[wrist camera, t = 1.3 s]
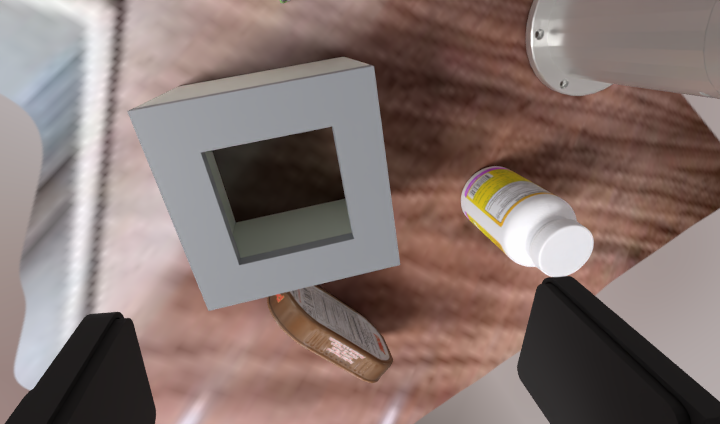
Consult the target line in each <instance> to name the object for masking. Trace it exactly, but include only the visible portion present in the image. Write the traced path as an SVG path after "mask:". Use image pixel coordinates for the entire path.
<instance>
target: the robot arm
mask: <svg viewBox="0 0 720 424" xmlns="http://www.w3.org/2000/svg"><path fill="white" fill-rule="evenodd" d="M535 33H536V36H535ZM526 48H527V55H528V58H529V62H530V65H531V67H532V69H533V71H534V73H535V75H536V76H537V77H538V78H539V80H540V81H541V82H542V83H543V84H544V85H546V86H547V87H548V88H550V89H551V90H553V91H556V92H559V93H561V94H567V95H571V96H584V95H589V94H594V93H596V92H599V91H601V90H604V89H606V88H607V87H609V86H611V85H612V84H618V85H625V86H632V87H639V88H646V89H653V90H660V91H667V92H674V93H681V94H689V95H696V96H703V97H710V98H717V99H720V0H534V1H533V3H532V6H531V8H530V12H529V16H528V21H527V26H526ZM517 370H518V375H519V378H520V379H521V381H522V383H523V384H524V386H525V387H526V389H527V390H528V392H529V393H530V395H531V396H532V398H533V399H534V401H535V402H536V404H537V405H538V406H539V408H540V409H541V411H542V412H543V414H544V415H545V417H546V418H547V420H548V421H549V422H550V424H720V402H719V401H718V400H717V399H716V398H715V397H714V396H712V395H711V394H710V393H709V392H708V391H707V390H705V389H704V388H703V387H702V386H700V385H699V384H698V383H697V382H696V381H695V380H694V379H692V378H691V377H690V376H689V375H688V374H686V373H685V372H684V371H683V370H682V369H680V368H679V367H678V366H677V365H676V364H674V363H673V362H672V361H671V360H670V359H669V358H668V357H666V356H665V355H664V354H663V353H662V352H660V351H659V350H658V349H657V348H656V347H655V346H653V345H652V344H651V343H650V342H649V341H647V340H646V339H645V338H644V337H643V336H642V335H640V334H639V333H638V332H637V331H636V330H634V329H633V328H632V327H631V326H630V325H628V324H627V323H626V322H625V321H624V320H623V319H621V318H620V317H619V316H618V315H617V314H616V313H614V312H613V311H612V310H611V309H610V308H608V307H607V306H606V305H605V304H603V302H601V301H600V300H599V299H598V298H597V297H595V296H594V295H593V294H592V293H591V292H590V291H588V290H587V289H586V288H585V287H584V286H583V285H581V284H580V283H579V282H578V281H577V280H575V279H574V278H572V277H570V276H562V277H549V278H546V279H544V280H543V282H542V284H540V285H539V286H538V287H537V289H536V293H535V297H534V301H533V305H532V309H531V313H530V317H529V321H528V325H527V329H526V333H525V337H524V341H523V345H522V349H521V353H520V357H519V361H518V365H517ZM155 419H156V409H155V404H154V401H153V397H152V393H151V389H150V385H149V381H148V378H147V374H146V370H145V366H144V362H143V359H142V355H141V351H140V347H139V343H138V339H137V336H136V332H135V328H134V324H133V321H132V320H131V319H130V318H124V317H123V315H122V314H121V313H120V312H111V313H98V314H89V315H87V316H86V317H85V318H84V319H83V320H82V321H81V323H80V324H79V326H78V327H77V328H76V330H75V331H74V333H73V334H72V335H71V337H70V338H69V340H68V341H67V342H66V344H65V345H64V347H63V348H62V349H61V351H60V352H59V354H58V355H57V356H56V358H55V359H54V361H53V362H52V363H51V365H50V366H49V368H48V369H47V370H46V372H45V373H44V375H43V376H42V377H41V379H40V380H39V382H38V383H37V385H36V386H35V387H34V389H32V390H31V391H29V393H28V394H27V395H26V396H25V397H24V398H23V399H22V401H21V402H20V403H19V405H18V406H17V407H16V409H15V410H14V412H13V413H12V414H11V416H10V417H9V419H8V420H7V421H6V423H5V424H155Z"/></svg>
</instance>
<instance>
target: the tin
mask: <svg viewBox="0 0 720 424" xmlns="http://www.w3.org/2000/svg"><path fill="white" fill-rule="evenodd" d="M267 303H268V308H269V310H270V312H271V314H272V316H273V318H274V320H275V321H276V323H277V324H278V325H279V326H280V328H281V329H282V330H283V331H284V332H285V333H286V334H287V335H288V336H289V337H290V338H291V339H293V340H294V341H295V342H296V343H298V344H299V345H301V346H302V347H304V348H306V349H307V350H309V351H311V352H313V353H315V354H317V355H318V356H320V357H322V358H323V359H325V360H327V361H329V362H331V363H332V364H334V365H336V366H338V367H339V368H341V369H343V370H345V371H346V372H348V373H350V374H352V375H353V376H355V377H357V378H359V379H361V380H362V381H365V382H368V383H375V382H377V381H378V380H379V379H380V377H381V376H382V375H383V374H384V372H385V371H386V370H387V369H388V368H389V367H390V366H391V364H392V362H393V358H392V356H391V353H390V351H389V349H388V347H387V345H386V342H385V340H384V338H383V336H382V335H381V334H380V332H379V331H378V330H377V329H376V328H375V327H374V326H373V325H372V324H371V323H370V322H369V321H368V320H367V319H366V318H365V317H363V316H362V315H361V314H359V313H358V312H356V311H355V310H353V309H352V308H350V307H349V306H347V305H346V304H344V303H343V302H341V301H340V300H338V299H337V298H335V297H334V296H332V295H331V294H329V293H328V292H326V291H325V290H323V289H322V288H320V287H319V286H317V285H314V286H310V287H306V288H302V289H298V290H293V291H289V292H285V293H281V294H277V295H273V296H268V297H267Z"/></svg>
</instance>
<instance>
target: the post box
mask: <svg viewBox="0 0 720 424" xmlns="http://www.w3.org/2000/svg"><path fill="white" fill-rule="evenodd" d="M127 112H128V114H129V117H130V119H131V121H132V124H133V126H134V129H135V131H136V134H137V136H138V139H139V141H140V144H141V146H142V148H143V151H144V153H145V156H146V158H147V161H148V163H149V166H150V168H151V171H152V173H153V175H154V178H155V180H156V183H157V185H158V188H159V190H160V193H161V195H162V198H163V200H164V202H165V205H166V207H167V210H168V212H169V215H170V217H171V220H172V222H173V225H174V227H175V229H176V232H177V234H178V237H179V239H180V242H181V244H182V247H183V249H184V252H185V254H186V256H187V259H188V261H189V264H190V266H191V269H192V271H193V274H194V276H195V279H196V281H197V284H198V286H199V288H200V291H201V293H202V296H203V298H204V301H205V303H206V306H207V308H208V311H210V310H214V309H218V308H222V307H227V306H231V305H235V304H239V303H243V302H248V301H252V300H256V299H260V298H264V297H268V296H273V295H277V294H281V293H285V292H289V291H293V290H298V289H302V288H306V287H310V286H314V285H318V284H323V283H327V282H331V281H335V280H339V279H343V278H348V277H352V276H356V275H360V274H364V273H368V272H373V271H377V270H381V269H385V268H389V267H393V266H398V265H400V260H399V253H398V245H397V237H396V230H395V222H394V215H393V207H392V200H391V192H390V184H389V177H388V169H387V162H386V154H385V146H384V139H383V131H382V124H381V116H380V109H379V101H378V93H377V86H376V78H375V71H374V66H372V65H369V64H366V63H363V62H360V61H356V60H353V59H350V58H347V57H339V58H333V59H328V60H322V61H317V62H311V63H305V64H300V65H294V66H289V67H283V68H278V69H272V70H267V71H261V72H256V73H250V74H245V75H239V76H234V77H228V78H222V79H217V80H211V81H206V82H200V83H195V84H189V85H184V86H178V87H176V88H174V89H172V90H170V91H168V92H166V93H164V94H162V95H160V96H158V97H156V98H154V99H152V100H150V101H148V102H146V103H144V104H142V105H140V106H138V107H136V108H133V109H131V110H129V111H127ZM327 127H332V130H333V135H334V140H335V146H336V151H337V156H338V162H339V167H340V172H341V178H342V183H343V189H344V194H345V199H341V200H337V201H332V202H328V203H323V204H319V205H314V206H309V207H305V208H300V209H296V210H291V211H287V212H282V213H277V214H273V215H268V216H264V217H259V218H255V219H250V220H245V221H241V222H235V219H234V216H233V213H232V209H231V206H230V203H229V200H228V197H227V194H226V191H225V188H224V185H223V182H222V179H221V176H220V173H219V170H218V167H217V164H216V161H215V158H214V155H213V152H212V150H216V149H221V148H226V147H231V146H236V145H241V144H247V143H252V142H257V141H262V140H267V139H272V138H277V137H282V136H287V135H292V134H297V133H302V132H307V131H312V130H317V129H322V128H327Z"/></svg>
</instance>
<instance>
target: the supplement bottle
mask: <svg viewBox="0 0 720 424" xmlns="http://www.w3.org/2000/svg"><path fill="white" fill-rule="evenodd" d="M461 206H462V210H463V212H464V214H465V215H466V217H467V218H468V219H469V220H470V221H471V222H472V223H473V224H474V225H475V226H476V227H477V228H478V229H479V230H481V231H482V232H483V233H484V234H485V235H486V236H487V237H488V238H489V239H490V240H491V241H492V242H493V243H494V244H496V245H497V246H498V247H499V248H500V249H501V250H502V251H503V252H504V253H505V254H506V255H507V256H508V257H509V258H510V259H512V260H513V261H514V262H516V263H518V264H520V265H523V266H527V267H537V268H539V269H540V270H541V271H542V272H544V273H545V274H546V275H548V276H551V277H562V276H567V275H570V274H572V273H574V272H575V271H577V270H578V269H580V268H581V267H582V266H583V265H584V264H585V263H586V261H587V260H588V258H589V257H590V255H591V253H592V250H593V244H594V241H593V237H592V234H591V232H590V231H589V230H588V229H587V228H586V227H584V226H583V225H581V224H580V223H578V222H577V220H576V216H575V213H574V211H573V209H572V208H571V206H570V205H569V204H568V203H567V202H566V201H564V200H563V199H561V198H560V197H558V196H556V195H554V194H552V193H550V192H549V191H547V190H545V189H543V188H542V187H540V186H538V185H536V184H534V183H533V182H531V181H529V180H527V179H525V178H524V177H522V176H520V175H518V174H516V173H515V172H513V171H511V170H509V169H507V168H504V167H500V166H492V167H487V168H484V169H482V170H480V171H478V172H477V173H475V174H474V175H473V176H472V177H471V178H470V179H469V180H468V182H467V183H466V185H465V187H464V189H463V191H462V195H461Z"/></svg>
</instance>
